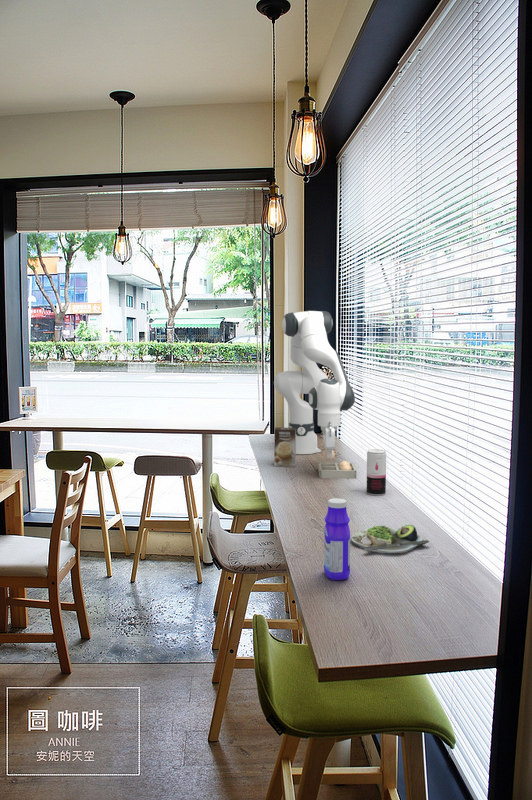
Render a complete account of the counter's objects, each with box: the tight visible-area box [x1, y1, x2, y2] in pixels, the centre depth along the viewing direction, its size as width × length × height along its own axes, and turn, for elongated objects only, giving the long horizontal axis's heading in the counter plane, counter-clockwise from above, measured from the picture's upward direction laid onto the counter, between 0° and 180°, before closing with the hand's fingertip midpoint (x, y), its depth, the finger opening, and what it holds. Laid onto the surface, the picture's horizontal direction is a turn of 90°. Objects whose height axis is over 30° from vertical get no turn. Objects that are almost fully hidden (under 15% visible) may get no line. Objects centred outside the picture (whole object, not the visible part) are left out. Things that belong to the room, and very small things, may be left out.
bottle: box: [323, 497, 351, 581], centre depth 128 cm, size 7×6×17 cm
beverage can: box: [366, 449, 387, 496], centre depth 198 cm, size 7×7×15 cm
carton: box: [318, 462, 357, 480], centre depth 225 cm, size 14×14×4 cm
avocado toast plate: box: [350, 524, 430, 555], centre depth 148 cm, size 19×18×5 cm
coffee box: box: [273, 426, 297, 468], centre depth 243 cm, size 9×6×16 cm
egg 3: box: [340, 464, 352, 470], centre depth 221 cm, size 5×5×5 cm
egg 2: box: [339, 460, 350, 466], centre depth 228 cm, size 5×5×5 cm
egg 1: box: [322, 448, 336, 461], centre depth 221 cm, size 5×5×5 cm
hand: (328, 456), depth 221 cm, fingers closed on egg 1, 5 cm apart
